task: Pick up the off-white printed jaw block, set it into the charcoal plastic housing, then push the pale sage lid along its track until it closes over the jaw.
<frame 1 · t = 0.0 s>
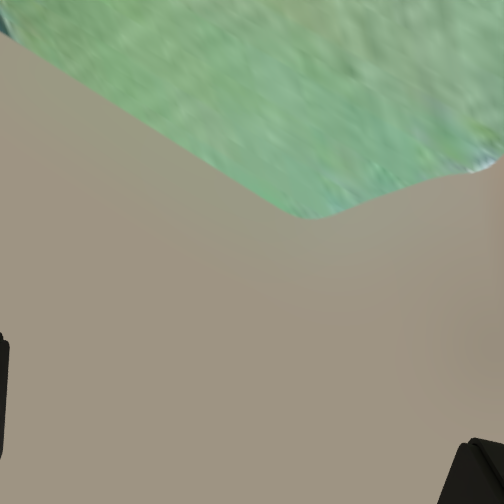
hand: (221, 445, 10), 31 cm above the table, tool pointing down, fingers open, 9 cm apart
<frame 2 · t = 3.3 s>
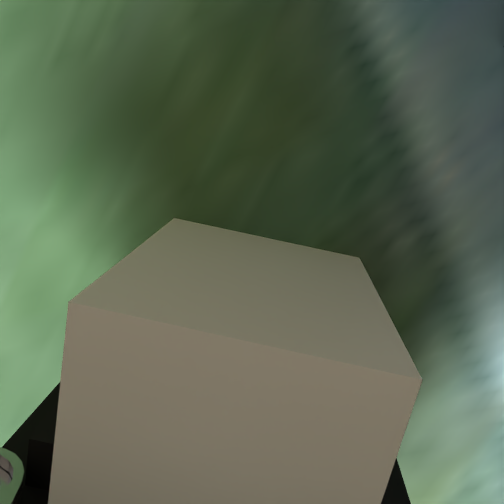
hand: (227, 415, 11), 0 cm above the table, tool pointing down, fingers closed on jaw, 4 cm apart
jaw: (231, 399, 11), on the table, touching gripper
when the fingers open (2 cm above the table, at t = 9.2 s): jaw drops 2 cm, resting on housing.
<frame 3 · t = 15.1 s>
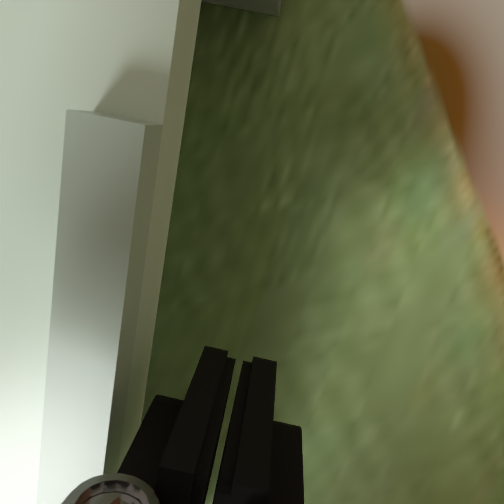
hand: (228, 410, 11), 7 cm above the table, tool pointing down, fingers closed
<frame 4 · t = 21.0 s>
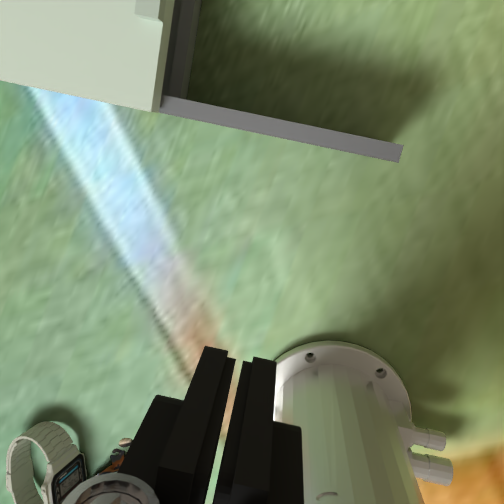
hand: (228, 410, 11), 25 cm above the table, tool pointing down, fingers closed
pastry: (125, 494, 44), on the table
wristwatch: (54, 460, 43), on the table
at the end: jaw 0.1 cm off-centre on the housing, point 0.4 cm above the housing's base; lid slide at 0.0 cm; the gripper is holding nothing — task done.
